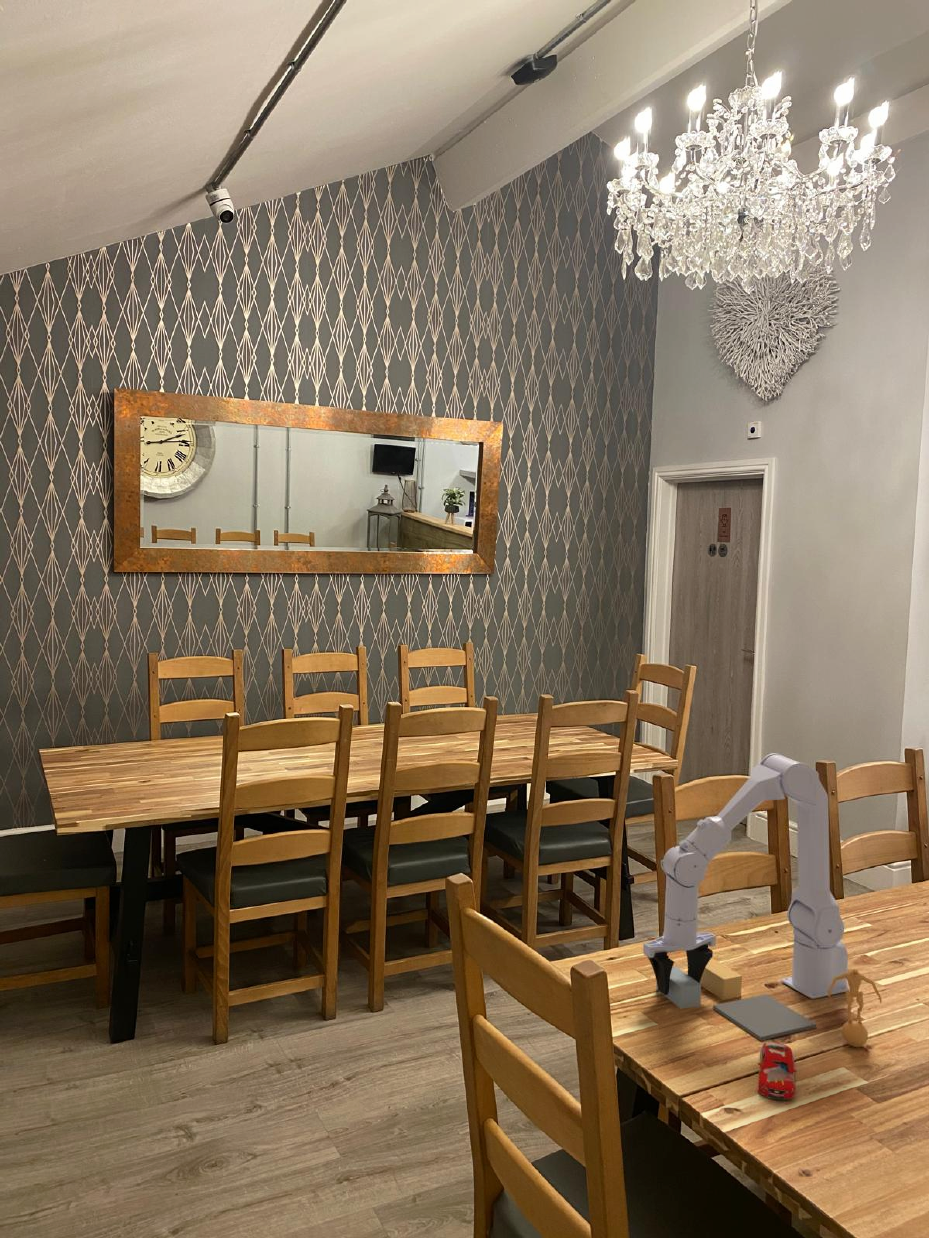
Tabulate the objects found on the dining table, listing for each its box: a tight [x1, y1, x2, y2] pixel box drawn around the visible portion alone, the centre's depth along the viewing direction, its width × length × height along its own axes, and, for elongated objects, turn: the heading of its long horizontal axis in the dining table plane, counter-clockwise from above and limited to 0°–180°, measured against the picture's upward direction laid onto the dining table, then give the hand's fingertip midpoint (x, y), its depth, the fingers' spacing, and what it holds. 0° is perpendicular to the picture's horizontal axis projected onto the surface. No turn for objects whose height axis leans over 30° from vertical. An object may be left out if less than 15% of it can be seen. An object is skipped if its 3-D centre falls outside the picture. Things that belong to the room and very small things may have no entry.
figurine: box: [827, 968, 882, 1048], centre depth 155 cm, size 8×6×12 cm
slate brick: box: [656, 965, 702, 1010], centre depth 170 cm, size 4×8×4 cm, turn 21°
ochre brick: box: [700, 958, 743, 1001], centre depth 174 cm, size 4×8×4 cm, turn 24°
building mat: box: [712, 993, 817, 1041], centre depth 163 cm, size 12×12×1 cm
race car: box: [757, 1042, 797, 1101], centre depth 144 cm, size 13×5×4 cm, turn 160°
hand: (678, 989), depth 170 cm, fingers open, 6 cm apart
